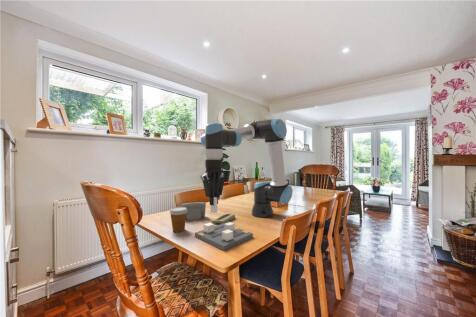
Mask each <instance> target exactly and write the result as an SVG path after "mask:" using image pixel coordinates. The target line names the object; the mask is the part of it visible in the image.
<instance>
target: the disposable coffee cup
mask: <svg viewBox="0 0 476 317" xmlns="http://www.w3.org/2000/svg"><path fill="white" fill-rule="evenodd" d="M186 213H187V208H186V207H181V206H176V207H172V208H170V210H169V214H170V218H171V219H170V220H171V226H172V232H174V233H181V232H184V231H185V228H186V221H187V218H186Z"/></svg>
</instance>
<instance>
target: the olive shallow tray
mask: <svg viewBox="0 0 476 317" xmlns="http://www.w3.org/2000/svg"><path fill="white" fill-rule="evenodd" d="M235 219H236V214H233V213H225V214H222V215H221V216H219V217H217V218H216V219H213V220H212V221H211V223H212V224H214V225H216V226H217V225H220V224H223V223H224V224H226V223H229V222H231V221H233V220H235Z"/></svg>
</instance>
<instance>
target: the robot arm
mask: <svg viewBox="0 0 476 317" xmlns="http://www.w3.org/2000/svg"><path fill="white" fill-rule="evenodd" d="M223 127H224V126H223V124H222V123H213V122H212V123H207V124H206V125H205V131H204V132H205V133H203V134H202V135H201V136H200V144H201V145H202V146H203V147H204V148H205V150H204V151H205V169H206V170H205V172H204V174H203V175H200V179H201V180H202V185H203V190H204V194H205V197H207V198H208V199H209V205H210V212H211V213H212V214H215V213H218V205H219V198H220V197H221V196H222V194H223V189H224V186H225V181H226V177H227V174H226V173H224V172H223V164H224V163H223V154H224V152H223V148H224V147H232V148H234V147H239V146H240V145H241V143H242V140H264V143H265V144H266V145H267V151H268V159H269V166H270V176H271V181H270V180H268V181H267V180H265V181H256V182H255V183H254V185H253V186H254V187H253V191H254V192H253V193H254V194H253V198H254V199H253V206H252V210H251V215H252V216H253V217H256V218H265V219H266V218H272V217H273V216H274V210H273V207H272V203H273V202H274V203H277V204H278V203H279V204H288V203H290V201H291V199H292V197H293V187H292V186H291V185H289V181H288V180H287V179H286V172H285V165H284V164H285V162H284V155H283V154H284V152H283V145H282V143H283V142H284V140H285V139H284V138H285V137H286V136H287V133H288V132H287V131H288V130H287V128H288V127H287V125H286V123H285V122H284V120H282V119H281V118H272V119H265V120H259V121H256V122H255V121H254V122H251V123H248V124H245V125H244V126H239V127H233V128H229V129H224V128H223Z"/></svg>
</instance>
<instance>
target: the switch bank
mask: <svg viewBox="0 0 476 317" xmlns="http://www.w3.org/2000/svg"><path fill="white" fill-rule="evenodd" d="M222 231H224V223H223V224H220V225H217V224H216V225H214V231H212V232H210V233H207V232H204V229H202V230H199V231H196V232H194V238H197V239H199V240H201V241H202V242H205V243H207V244H209V245H211V246H213V247H216V248H217V249H219V250H221V251H226V250H228V249H230V248H233V247H236V246H237V245H239V244H241V243H244V242H246V241H248V240H250V239H252V238H254V233H253V232H250V231H247V230H244V229H242V228H239V227H236V226H234V231H233V239H231V240H229V241H225V240H223V239H222Z"/></svg>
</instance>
